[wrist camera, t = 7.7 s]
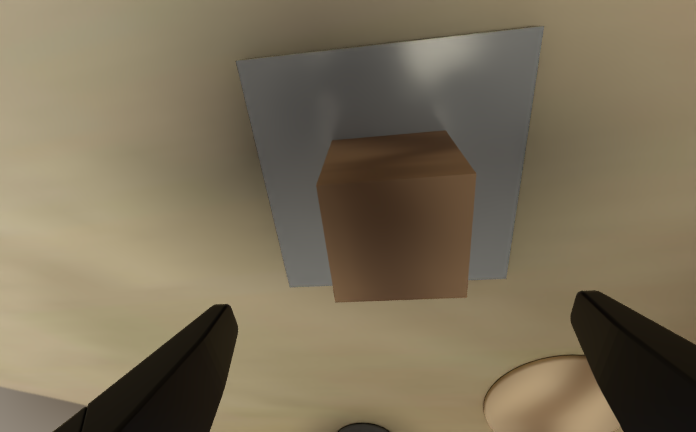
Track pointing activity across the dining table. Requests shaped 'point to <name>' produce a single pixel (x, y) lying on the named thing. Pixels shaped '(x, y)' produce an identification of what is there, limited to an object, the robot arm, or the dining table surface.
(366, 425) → the sundae
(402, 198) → the walnut block
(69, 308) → the dining table surface
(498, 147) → the slate coaster
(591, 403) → the cork coaster
